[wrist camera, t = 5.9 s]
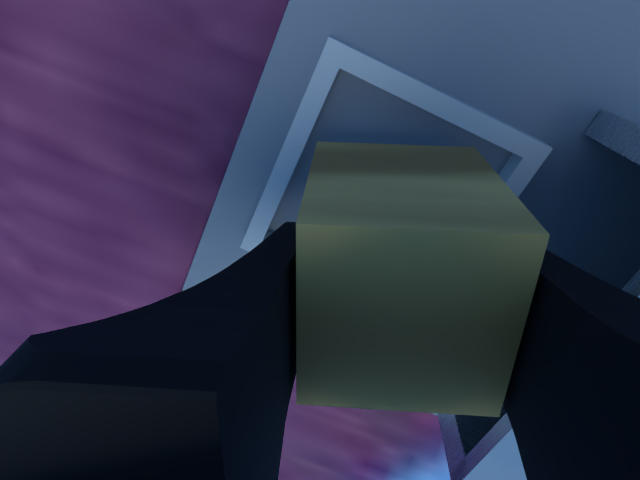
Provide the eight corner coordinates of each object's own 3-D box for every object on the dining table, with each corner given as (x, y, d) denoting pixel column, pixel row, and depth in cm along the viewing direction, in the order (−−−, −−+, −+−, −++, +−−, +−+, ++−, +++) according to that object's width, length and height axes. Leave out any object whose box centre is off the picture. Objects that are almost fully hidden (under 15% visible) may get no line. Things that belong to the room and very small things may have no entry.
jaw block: (317, 141, 12) (295, 223, 7) (474, 147, 12) (549, 234, 7) (314, 274, 14) (296, 404, 9) (450, 281, 13) (499, 417, 9)
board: (354, -164, 12) (354, -187, 10) (856, 121, 14) (912, 134, 13) (180, 301, 19) (166, 325, 17) (533, 440, 21) (546, 471, 20)
